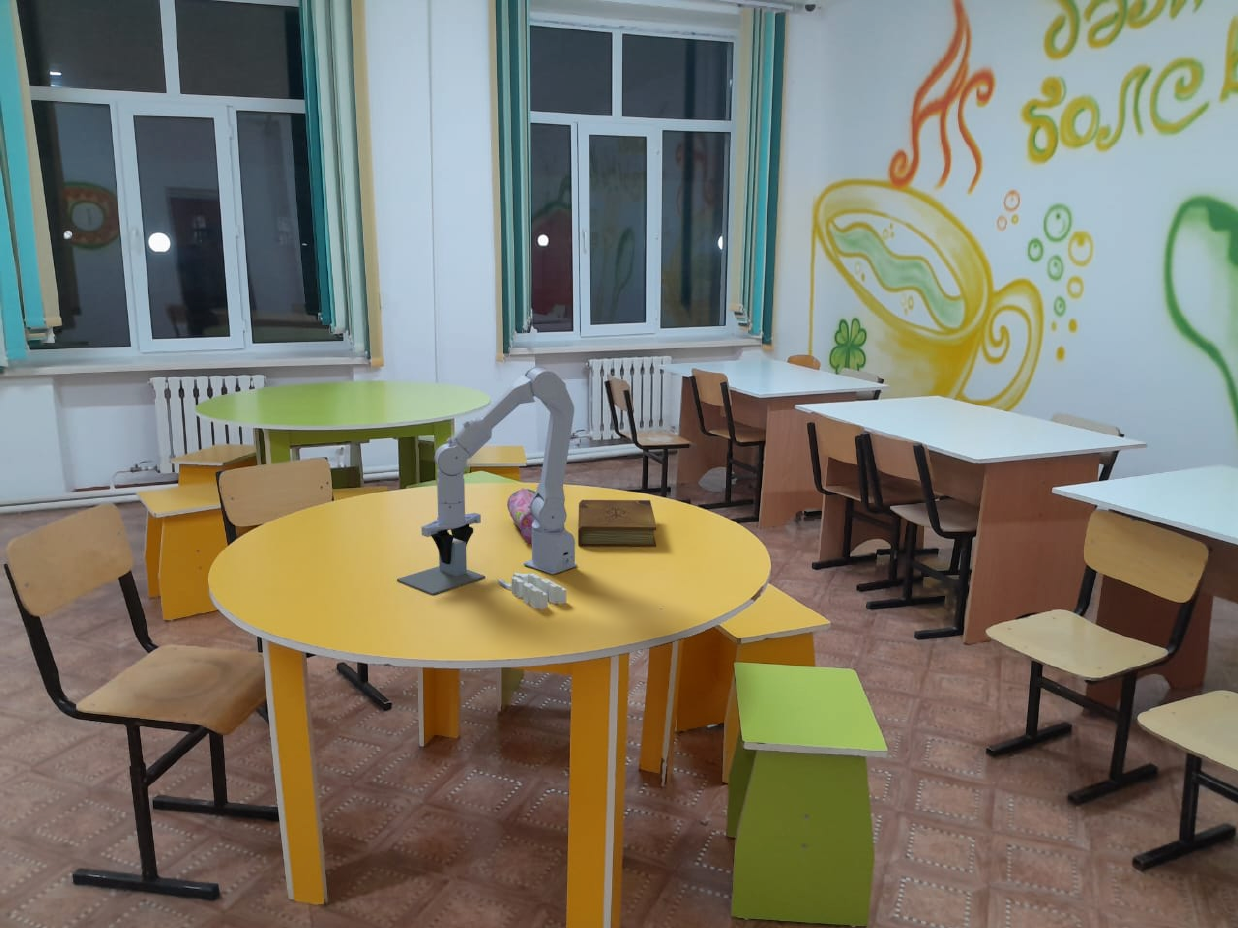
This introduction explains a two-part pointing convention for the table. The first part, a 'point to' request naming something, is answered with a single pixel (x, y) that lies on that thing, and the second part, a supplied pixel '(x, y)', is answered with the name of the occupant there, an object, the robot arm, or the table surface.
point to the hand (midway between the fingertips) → (452, 561)
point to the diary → (616, 523)
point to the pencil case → (522, 511)
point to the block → (455, 559)
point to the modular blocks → (535, 590)
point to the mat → (438, 580)
